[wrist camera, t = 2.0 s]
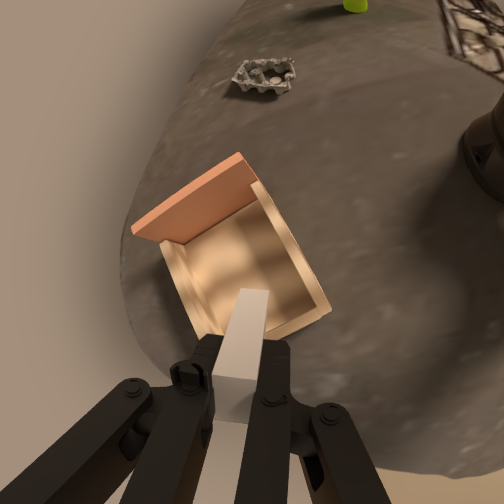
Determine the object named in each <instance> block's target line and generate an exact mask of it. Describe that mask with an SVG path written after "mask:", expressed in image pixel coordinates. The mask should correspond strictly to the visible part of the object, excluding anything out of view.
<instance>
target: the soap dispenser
mask: <svg viewBox="0 0 504 504" xmlns="http://www.w3.org/2000/svg"><path fill="white" fill-rule="evenodd" d="M343 6H344V8H345V9H346V10H347V11H350V12H354V13H363V12H366V11H367V0H343Z"/></svg>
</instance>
